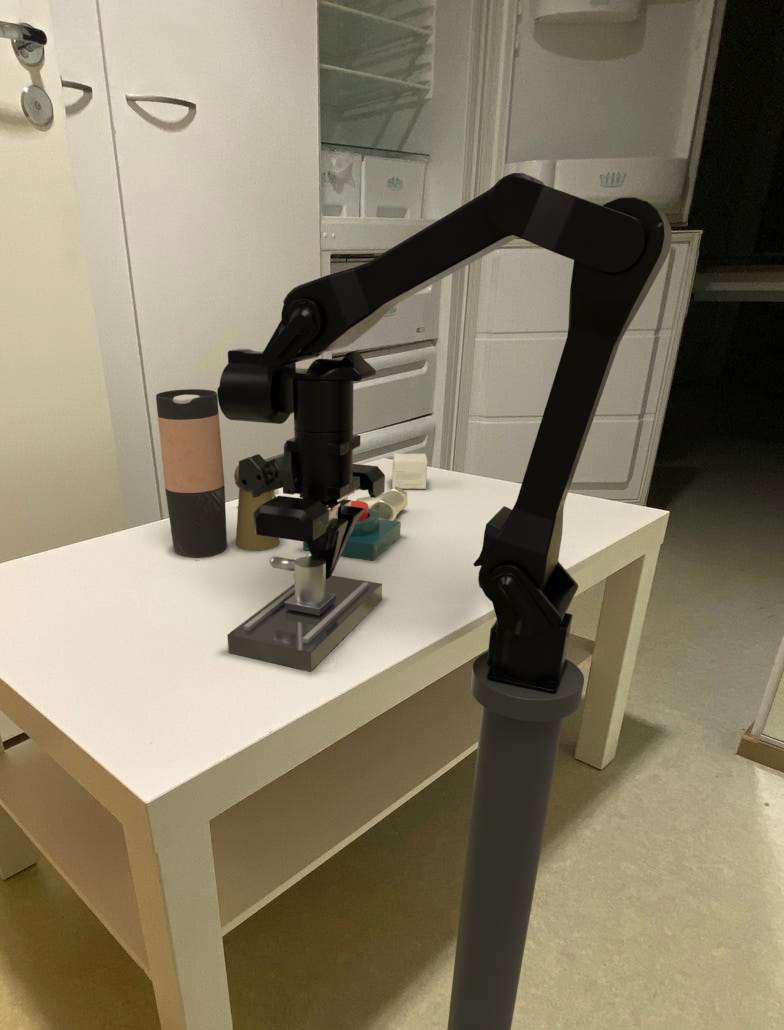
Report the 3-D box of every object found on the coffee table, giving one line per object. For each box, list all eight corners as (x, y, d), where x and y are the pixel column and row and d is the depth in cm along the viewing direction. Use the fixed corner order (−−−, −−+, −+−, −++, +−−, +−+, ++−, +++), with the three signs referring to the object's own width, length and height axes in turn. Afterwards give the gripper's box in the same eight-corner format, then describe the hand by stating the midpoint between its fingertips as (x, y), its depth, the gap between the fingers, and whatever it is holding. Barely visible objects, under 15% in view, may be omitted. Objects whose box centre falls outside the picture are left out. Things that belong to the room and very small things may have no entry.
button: (372, 515, 98) (372, 502, 97) (361, 523, 94) (361, 510, 94) (345, 511, 99) (345, 499, 98) (333, 520, 96) (333, 507, 95)
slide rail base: (382, 599, 81) (382, 579, 80) (311, 671, 67) (310, 648, 66) (310, 587, 85) (309, 567, 84) (228, 652, 71) (226, 629, 70)
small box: (424, 480, 126) (426, 452, 124) (426, 489, 121) (428, 460, 119) (391, 480, 127) (392, 452, 125) (392, 489, 122) (393, 460, 120)
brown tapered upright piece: (263, 553, 96) (259, 470, 91) (226, 545, 99) (220, 464, 94) (288, 540, 100) (285, 460, 95) (252, 533, 103) (248, 455, 98)
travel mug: (205, 535, 103) (192, 387, 94) (240, 547, 98) (230, 392, 89) (160, 549, 98) (142, 394, 89) (194, 562, 93) (179, 400, 84)
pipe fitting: (349, 526, 106) (393, 527, 104) (347, 499, 105) (392, 500, 102) (365, 510, 113) (408, 511, 110) (364, 485, 111) (407, 486, 109)
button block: (400, 537, 100) (401, 509, 99) (373, 560, 92) (373, 530, 91) (334, 528, 104) (334, 500, 103) (303, 549, 97) (302, 520, 95)
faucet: (336, 601, 76) (336, 558, 74) (319, 615, 73) (319, 571, 71) (280, 591, 79) (279, 549, 77) (262, 604, 76) (260, 561, 73)
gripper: (294, 407, 81) (298, 540, 88) (199, 440, 66) (212, 597, 73) (388, 413, 76) (384, 553, 83) (308, 450, 61) (311, 616, 69)
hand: (325, 577), depth 77 cm, fingers closed
